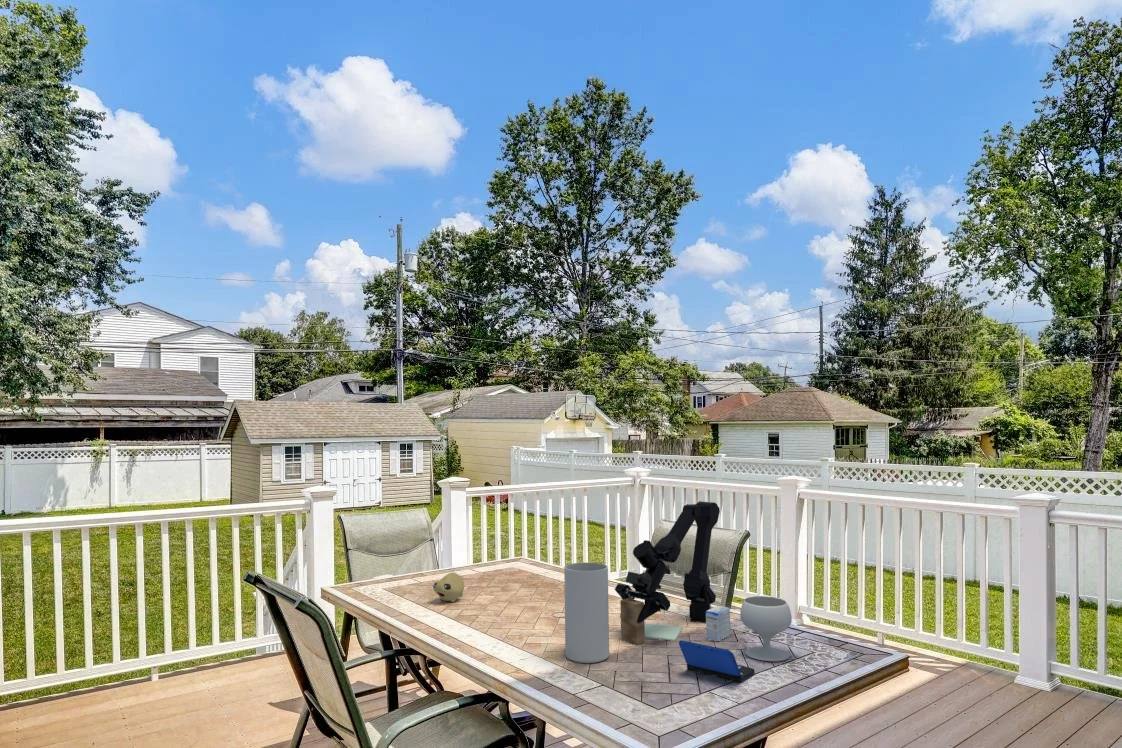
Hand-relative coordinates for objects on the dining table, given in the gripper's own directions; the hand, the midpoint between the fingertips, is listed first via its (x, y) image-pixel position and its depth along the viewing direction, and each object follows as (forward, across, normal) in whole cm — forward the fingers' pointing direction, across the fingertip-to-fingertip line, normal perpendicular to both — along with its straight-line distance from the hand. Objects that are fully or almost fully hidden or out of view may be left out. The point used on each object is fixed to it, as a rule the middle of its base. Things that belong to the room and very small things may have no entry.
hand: (629, 620), depth 202 cm
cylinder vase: (+17, 0, -8) cm, 19 cm away
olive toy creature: (+14, -81, -4) cm, 82 cm away
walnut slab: (+4, 0, +6) cm, 7 cm away
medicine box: (-12, +16, +21) cm, 29 cm away
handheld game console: (+7, +33, +3) cm, 34 cm away
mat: (-4, -2, +14) cm, 15 cm away
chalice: (-9, +34, +19) cm, 40 cm away
